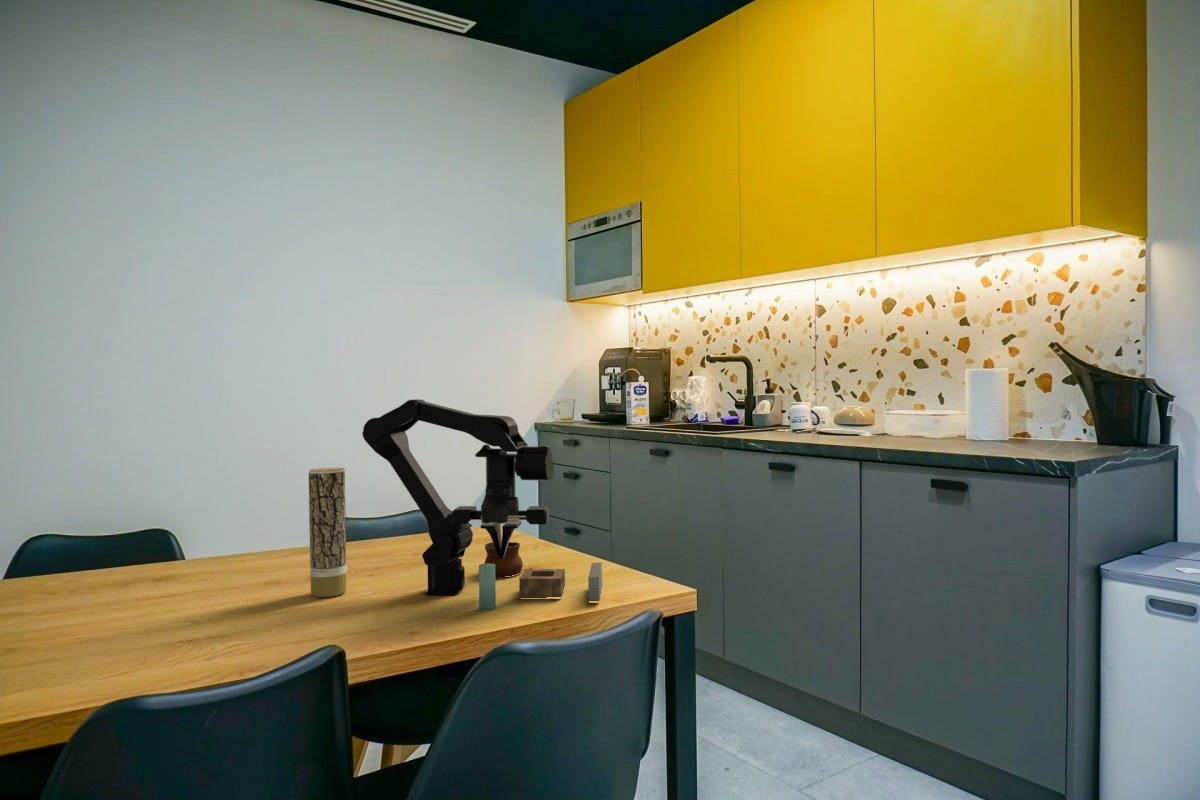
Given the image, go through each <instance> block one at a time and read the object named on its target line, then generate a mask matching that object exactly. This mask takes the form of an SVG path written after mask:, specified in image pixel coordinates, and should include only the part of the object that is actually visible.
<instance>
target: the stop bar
mask: <svg viewBox="0 0 1200 800" xmlns="http://www.w3.org/2000/svg"><path fill="white" fill-rule="evenodd" d="M587 577H588V578H587V580H588V581H587V582H588V584H587V585H588V587H587V588H588V602H589V601H599V600H600V601H601V597H600V594H601V595H602V592H601V588H602V589H603V562H591V566H590V570H589V573H588V576H587Z"/></svg>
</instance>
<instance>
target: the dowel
mask: <svg viewBox="0 0 1200 800" xmlns="http://www.w3.org/2000/svg"><path fill="white" fill-rule="evenodd" d="M496 587H497V585H496V578H495V564H492V563H486V564H484V563H481V564H478V589H479V590H478V595H479V597H478V598H479V600H478V602H479V603H478V604H479V611H483V610H490V611H493V610H492V609H494V610H496V609H497V605H496V604H497V602H496V601H497V599H496V594H497V593H496V590H497V589H496ZM495 608H496V609H495Z"/></svg>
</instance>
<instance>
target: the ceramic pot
mask: <svg viewBox="0 0 1200 800" xmlns="http://www.w3.org/2000/svg"><path fill="white" fill-rule="evenodd" d="M520 547H521V544H520V543H519V542H517V541H514V542H513V541H512V542H511V541H509V543H508V547H507V550H506V553H505V556H504V558H503V559H499V558H498V555H497V552H496V549H495V546H494V543H493V541H491V542H487V543H485V544H484V550H485V553H486V554H487V555H486V557H485V559H484V563H483V564H486V563H492V564H495V577H505V576H512V575H516V574H518V573H520V574H521V572H522V569H523V566H524V564H523V563H524V562H523V559H522V557H520V555H519V551H520Z"/></svg>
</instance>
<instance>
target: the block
mask: <svg viewBox="0 0 1200 800" xmlns="http://www.w3.org/2000/svg"><path fill="white" fill-rule="evenodd" d="M565 571H566V569H565V568H525V569H524V570H523V572H522V573H521V575H520V577H519V579H518V580H519V583H518V585H519V586H518V587H519V589H518V590H519V592H518V593H519V599H520V598H547V597H561V596H562V597H563V595H562V593H563V590H564V587H565V588H566V576H565V575H566V574H565V573H566V572H565ZM564 591H565V590H564ZM563 594H564V593H563Z"/></svg>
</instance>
